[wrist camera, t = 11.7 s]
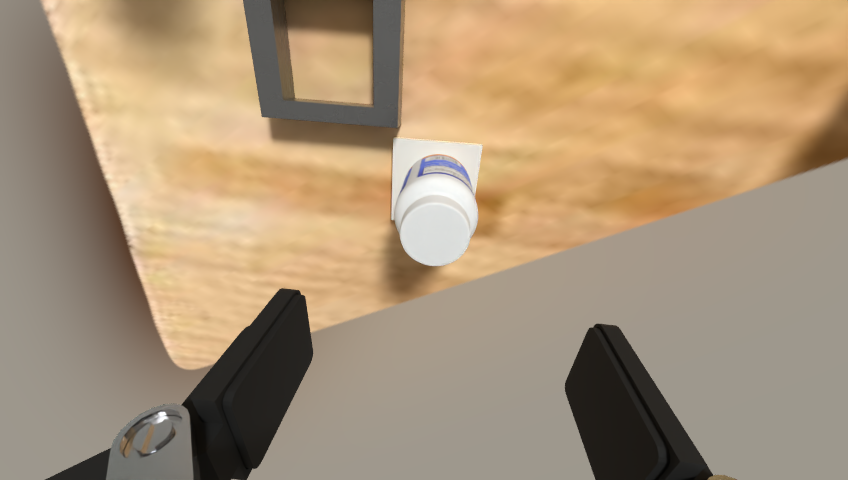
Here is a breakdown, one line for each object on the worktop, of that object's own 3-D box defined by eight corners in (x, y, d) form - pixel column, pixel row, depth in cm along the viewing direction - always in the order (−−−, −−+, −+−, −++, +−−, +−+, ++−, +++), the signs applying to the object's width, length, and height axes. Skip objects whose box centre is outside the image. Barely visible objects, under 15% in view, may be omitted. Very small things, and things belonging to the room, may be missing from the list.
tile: (481, 144, 25) (482, 145, 24) (469, 223, 28) (470, 226, 28) (394, 136, 25) (393, 138, 24) (392, 217, 28) (391, 219, 28)
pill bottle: (432, 226, 28) (427, 293, 19) (391, 180, 26) (366, 231, 17) (483, 189, 26) (503, 245, 17) (443, 137, 24) (443, 170, 16)
